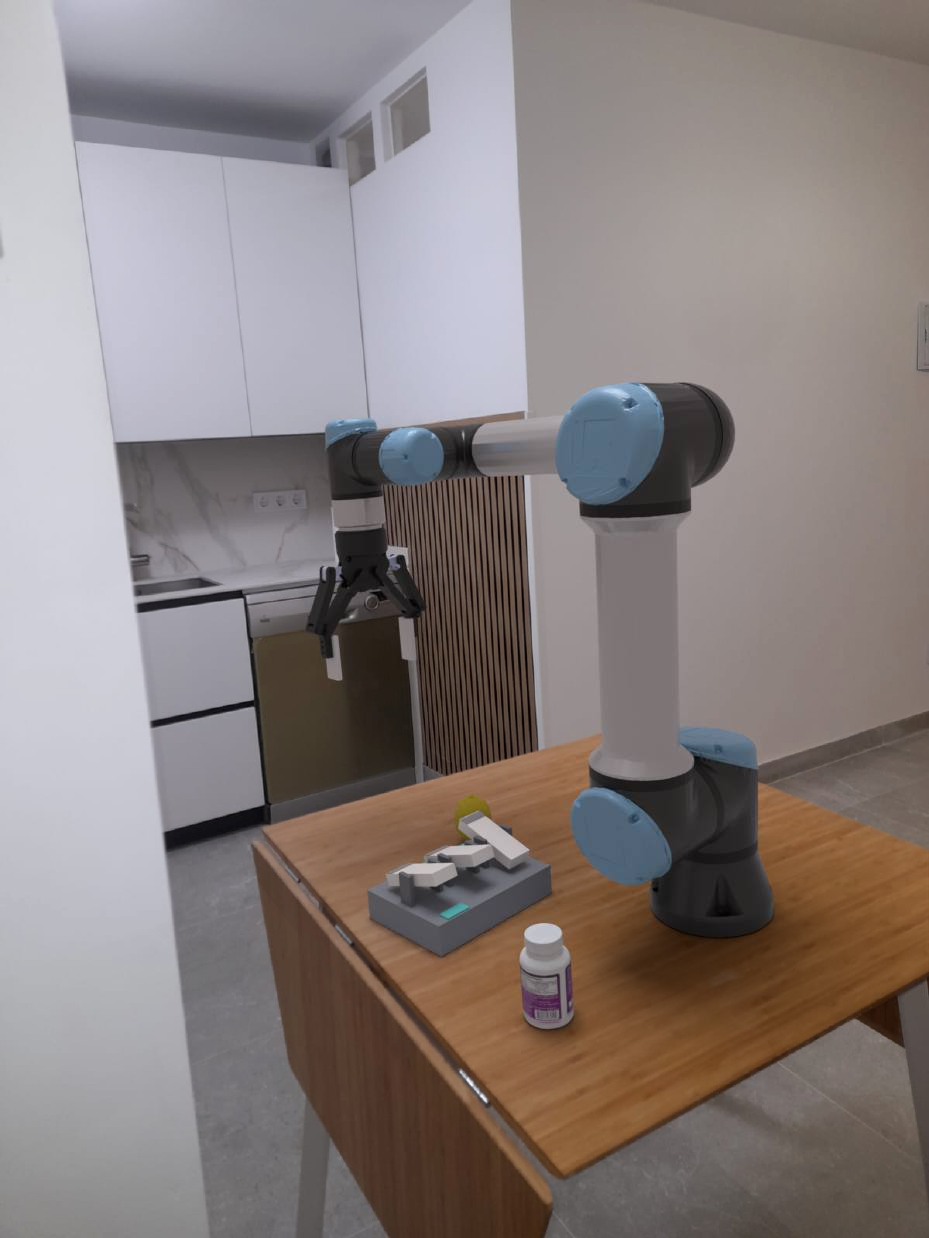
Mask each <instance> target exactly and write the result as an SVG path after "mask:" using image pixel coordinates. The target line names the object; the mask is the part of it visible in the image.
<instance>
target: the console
mask: <svg viewBox="0 0 929 1238" xmlns="http://www.w3.org/2000/svg"><path fill="white" fill-rule="evenodd" d="M497 825H498V826H499V827H500V828H502V829H503V830H504V831H506V832H507V833H508V834H509V835H511V836H512V837H513V827H512V826H509V825H507V824H503V823H500V824H497ZM473 839H474V841H473V840H465V841H463V843H462V844H459V845H458V846H468V845H487V839H484V838H481V837H479V836H475V837H473ZM437 857H438V860H436V859H433V858H429V859H427V860H428V863H452V862H451V857H450V856H447V855H445V854H443V853H439V854H437ZM424 863H425V861H423V862H422V863H420V864H424ZM455 868H456V871H457V875H458V876H456V877H454V878H452V879H450V880H448V881H446V882H444V883H442V884H440V885H438V886H436V887H433V886H413V876H412V875H409V874H407V873H405V872H403V871H402V872H399V884H400V886H389V885H388V881H387V880H385V881H383V882H381V883H379V884H377V885H375V886H372V887H371V888H369V889H367V890H366V893H367V900H368V901H367V903H368V912H369V919H370V920H373V921H374V922H376V923H377V924H380V925H382V926H383V927H385V928H388V930H391V931H393V932H394V933H396V934H398V935H400V936H402V937H404V938H406V939H408V940H409V941H411V942H413V943H415V944H416V945H418V946H421V947H422V948H424V949H426V950H427V951H428V952H429V951H430V952H431V953H434V954H435V955H437V956H439V957H441V958H442V957H444V956H447V955H448V954H449V953H450V952H453V951H454V950H456V949H458V948H459V947H461V946H463V945H464V944H466V943H468V942H470V941H471V940H474V939H475V938H477V937H478V936H481V934H483V933H486V932H487V931H490V929H492V928H493V927H496V926H498V925H499V924H501V923H502V922H504V921H506V920H508V919H509V918H511V917H513V916H514V915H516V914H518V913H520V912H522V911H523V910H525V909H526V908H528V907H530V906H532V905H533V904H535V903H536V902H538V901H540V900H542V899H544V898H546V897H548V896H549V895H550V894H552V893H553V890H552V888H553V887H552V871H551V870H552V868H551V865H550V864H549V863H546V862H543V861H541V860H538V859H536V858H533V857H531V856H528V860H526V861H524V862H522V863H520V864H518V865H517V866H515V867H513V868H511V869H508V868H507V867H505V866H504V865H503V864H502V863H500V862H499V861H498V860H497V859H495V858H494V857H493V858H491V859H489V860H487V861H485V862H483V863H481V864H479V865H477V866H475V867H455Z"/></svg>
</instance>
